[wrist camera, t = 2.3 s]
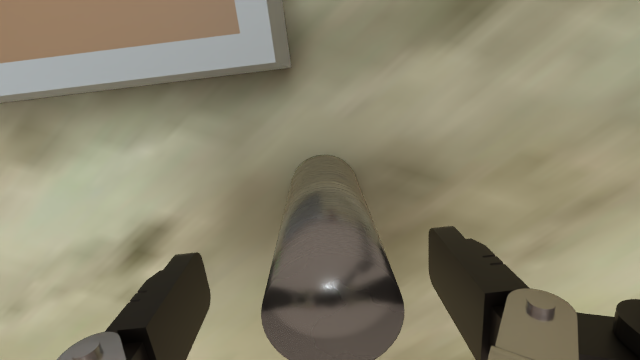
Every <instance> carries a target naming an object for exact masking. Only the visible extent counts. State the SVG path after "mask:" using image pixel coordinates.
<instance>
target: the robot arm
mask: <svg viewBox="0 0 640 360" xmlns="http://www.w3.org/2000/svg"><path fill="white" fill-rule="evenodd" d="M429 275H430V279H431V282H432V285H433V287H434V289H435V290H436V292H437V294H438V296H439V297H440V299H441V301H442V302H443V304H444V306H445V308H446V309H447V311H448V313H449V314H450V316H451V318H452V320H453V321H454V323H455V325H456V326H457V328H458V330H459V332H460V333H461V335H462V337H463V339H464V340H465V342H466V344H467V345H468V347H469V349H470V351H471V352H472V354H473V356H474V357H475V359H476V360H640V300H639V299H630V300H625V301H622V302H620V303H619V304H618V305H617V308H616V312H615V317H609V316H601V315H592V314H584V313H577V312H576V311H575V310H574V308H573V307H572V306H571V305H570V304H569V303H568V302H566V301H565V300H563V299H562V298H560V297H558V296H556V295H554V294H551V293H549V292H546V291H542V290H537V289H530V288H529V287H528V286H527V285H526V284H525V283H524V282H523V281H522V280H521V279H520V278H519V277H517V276H516V275H515V274H514V273H513V272H512V271H511V270H510V269H509V268H508V267H507V266H506V265H505V264H503V262H502V261H501V260H500V259H499V258H498V257H497V256H496V257H495V254H494V253H493V252H492V251H491V250H490V249H488V248H487V247H486V246H485V245H483V244H481V243H479V242H477V241H475V240H473V239H465V238H464V237H463V236H462V235H461V233H460V232H459V231H458V230H457V229H456V228H455V227H453V226H448V227H439V228H431V229H430V230H429ZM209 306H210V289H209V285H208V281H207V277H206V273H205V269H204V265H203V261H202V257H201V255H200V254H199V253H188V254H178V255H175V256H174V257H173V258H172V259H171V261H170V262H169V263H168V265H167V266H166V267H165V268H164V270H162V271H159V272H158V273H156V274H155V275H153V276H152V277H151V278H149V279H148V280H147V281H146V282H145V283H144V284H143V285H142V287H141V288H140V289H139V290H138V293H136V294H135V295H134V296H133V298H132V299H131V300H130V303H128V304H127V305H126V306H125V308H124V309H123V310H122V311H121V312H120V314H119V315H118V316H117V317H116V319H115V320H114V321H113V322H112V323H111V325H110V326H109V327H108V328H107V330H106V331H105V332H102V333H97V334H94V335H91V336H89V337H86V338H84V339H82V340H80V341H79V342H77V343H75V344H74V345H72V346H71V347H70V348H68V349H67V350H66V351H65V352H64V353H62V354H61V355H60V357H59V358H58V359H57V360H186V359H187V356H188V354H189V352H190V350H191V348H192V345H193V343H194V341H195V339H196V336H197V334H198V332H199V330H200V327H201V325H202V323H203V321H204V318H205V316H206V314H207V312H208V309H209Z"/></svg>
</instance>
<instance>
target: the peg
mask: <svg viewBox="0 0 640 360" xmlns="http://www.w3.org/2000/svg"><path fill="white" fill-rule="evenodd" d="M261 318H262V325H263V328H264V331H265V334H266V336H267V338H268V339H269V341H270V342H271V344H272V345H273V346H274V348H275V349H276V350H277V351H278V352H279V353H280V354H282V355H283V356H284V357H286V358H287V359H288V360H375V359H376V358H378V357H379V356H381V355H382V354H383V353H384V352H386V351H387V349H388V348H389V347H390V346H391V345H392V344H393V343H394V341H395V340H396V338H397V336H398V335H399V333H400V330H401V327H402V325H403V320H404V303H403V299H402V295H401V293H400V290H399V287H398V285H397V282H396V280H395V277H394V274H393V272H392V269H391V267H390V264H389V262H388V259H387V256H386V254H385V251H384V249H383V246H382V243H381V241H380V238H379V236H378V233H377V230H376V228H375V225H374V223H373V220H372V218H371V215H370V212H369V210H368V207H367V205H366V202H365V199H364V197H363V194H362V192H361V189H360V187H359V184H358V181H357V179H356V176H355V174H354V172H353V170H352V169H351V167H350V166H349V165H348V164H347V163H346V162H344V161H343V160H341V159H339V158H337V157H334V156H330V155H319V156H314V157H311V158H309V159H307V160H306V161H304V162H303V163H302V164H301V165H300V166H299V167H298V168H297V169H296V171H295V173H294V175H293V178H292V181H291V186H290V190H289V194H288V198H287V202H286V207H285V211H284V215H283V219H282V223H281V228H280V232H279V236H278V240H277V244H276V249H275V253H274V257H273V261H272V265H271V270H270V274H269V278H268V282H267V286H266V290H265V295H264V299H263V304H262V310H261Z"/></svg>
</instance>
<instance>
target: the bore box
mask: <svg viewBox="0 0 640 360" xmlns="http://www.w3.org/2000/svg"><path fill="white" fill-rule="evenodd" d="M284 68H291V61H290V53H289V46H288V38H287V31H286V23H285V16H284V9H283V1H282V0H0V103H5V102H13V101H22V100H30V99H38V98H46V97H54V96H63V95H71V94H79V93H87V92H96V91H104V90H112V89H120V88H128V87H137V86H145V85H153V84H161V83H169V82H178V81H186V80H194V79H202V78H210V77H219V76H227V75H235V74H243V73H251V72H260V71H268V70H276V69H284Z"/></svg>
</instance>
